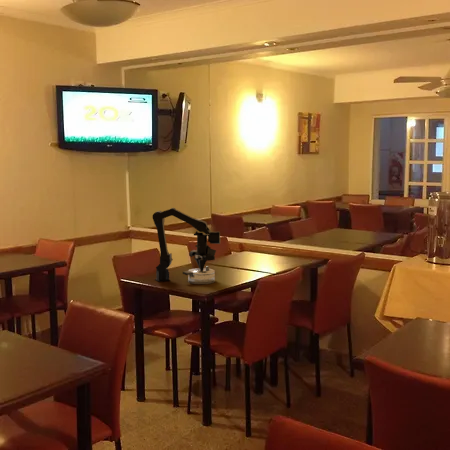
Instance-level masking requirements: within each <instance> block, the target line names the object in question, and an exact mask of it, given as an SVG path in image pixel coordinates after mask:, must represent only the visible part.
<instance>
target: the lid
mask: <svg viewBox="0 0 450 450" xmlns="http://www.w3.org/2000/svg"><path fill="white" fill-rule="evenodd" d="M214 273H216V270H215V269H212V268H210V266H209V265H207V266H205V267H204V269H203V271H200V268H195V269H193V268H191V269H188V270H185V271H182V274H183V275H185V276H188V275H210V274H214Z"/></svg>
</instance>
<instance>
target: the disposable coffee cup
mask: <svg viewBox="0 0 450 450" xmlns="http://www.w3.org/2000/svg"><path fill="white" fill-rule="evenodd" d="M194 251H197V249H196V250H195V249H194ZM194 258H196V256H192V257H191V256H190V259H191V265H192V268H191V269H195V268H199V266H198V264H197V262H196V260H195V259H194Z"/></svg>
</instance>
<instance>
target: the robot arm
mask: <svg viewBox="0 0 450 450" xmlns="http://www.w3.org/2000/svg"><path fill="white" fill-rule="evenodd" d="M172 216H173V217H175V218H177V219H179V220H181V222H184V223H186V224H189V226H192V227H193V229H195V230H196V231H195V233H193V236H196V244H195V248H196V250H197V251H195V250H191V251H190V252H189V253H188V255H189V257H190V258H191V257H192V256H196V258H194V259H195V260H196V262H197V264H198V266H199V268H200V271H203V269H204V268H205V267H206V266H205V265H206V263H207V262H208V261H215V258H216V256H215V255H216V253H217V250H216V249H213V248H211V246H210V245H208V243H209V244H211V245H212V244H213V245H221V232H220V231H211V229H210V227H208V222H207V221H206V220H202V219H200V218H199V219H198V218H194V217H192V216H190V215H188V214H186V213H184V212H182V211H181V210H178V209H176V208H175V207H171V208H170V209H166V210H163V211H162V210H158V211H155V212H154V213H153V214H152V220H153V224H154V225H155V228H156V233H157V238H158V244H159V245H158V246H159V250H160V251H159V252H160V254H159V255H160V256H159V264H158V265H156V267H155V269H156V270H155V271H156V274H155V276H156V278H155V279H154V281H157V282H159V283H161V282H167V281H171V280H170V272H169V267H170V266H171V265H172V262H173V259H174V258H173V257H172V256H173V254H172V252H171V253H170V252H169V250H168V244H167V238H166V237H167V236H166V233H165V222H166V221H165V220H166V219H165V218H168V217H172Z"/></svg>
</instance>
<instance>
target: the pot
mask: <svg viewBox="0 0 450 450" xmlns="http://www.w3.org/2000/svg"><path fill="white" fill-rule="evenodd" d="M215 273H216V272H215ZM215 273H214V274H210V275H187V276H188V278H187V279H188V280H187V282H188V283H189V284H193V285H209V284H213V283H215V282H216V279H215V278H216V277H215V276H216V274H215Z"/></svg>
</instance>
